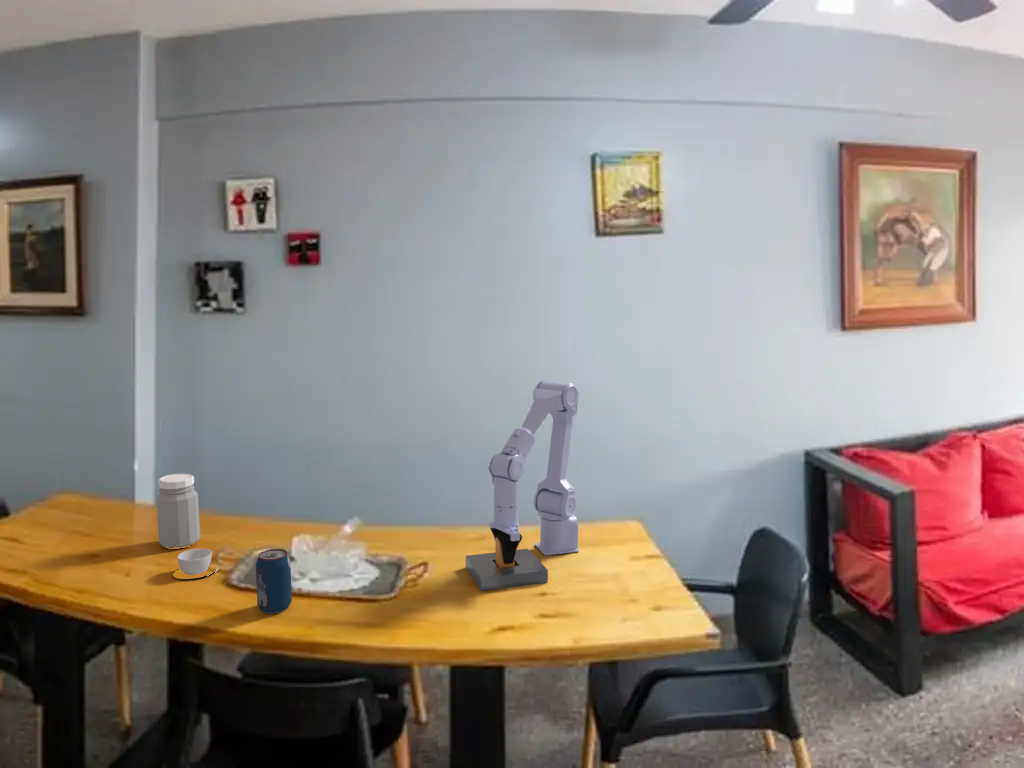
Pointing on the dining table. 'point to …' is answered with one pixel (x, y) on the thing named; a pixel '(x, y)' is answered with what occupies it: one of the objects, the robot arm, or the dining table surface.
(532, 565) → the gray block with hole
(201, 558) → the teacup
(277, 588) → the soda can
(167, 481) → the jar
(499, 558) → the peach rectangular block
